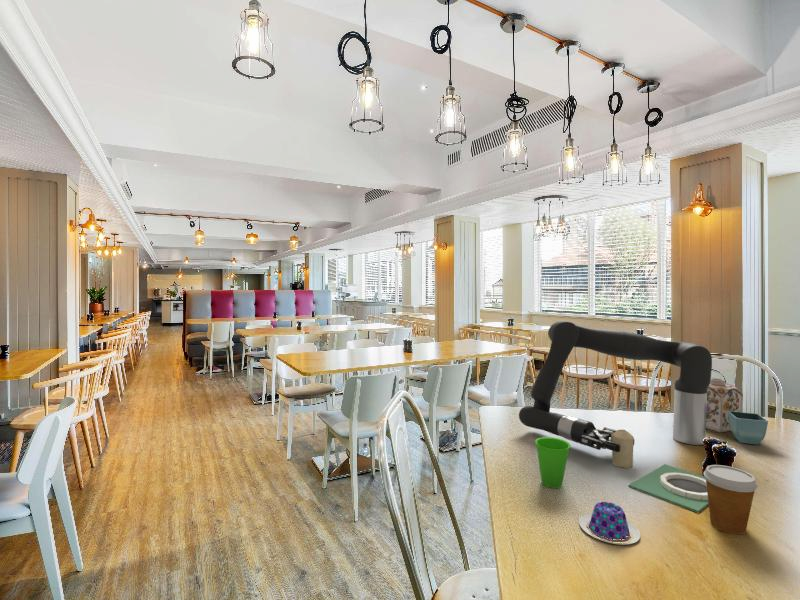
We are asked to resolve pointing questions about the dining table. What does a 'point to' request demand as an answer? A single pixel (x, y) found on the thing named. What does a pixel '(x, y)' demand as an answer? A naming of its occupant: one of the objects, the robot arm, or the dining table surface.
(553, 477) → the cup
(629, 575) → the dining table surface
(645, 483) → the putting green
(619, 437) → the candle
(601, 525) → the pudding
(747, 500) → the disposable coffee cup
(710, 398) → the decorative jar
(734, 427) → the flower pot
